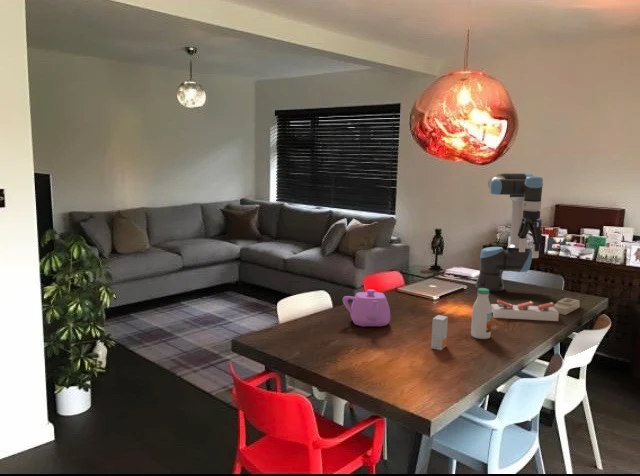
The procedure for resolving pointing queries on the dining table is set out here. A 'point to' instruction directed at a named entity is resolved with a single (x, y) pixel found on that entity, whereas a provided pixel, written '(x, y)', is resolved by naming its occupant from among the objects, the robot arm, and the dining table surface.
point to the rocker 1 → (505, 303)
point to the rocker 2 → (525, 304)
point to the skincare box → (439, 332)
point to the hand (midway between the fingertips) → (528, 254)
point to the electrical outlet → (566, 305)
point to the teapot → (368, 308)
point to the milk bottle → (481, 315)
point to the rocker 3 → (545, 305)
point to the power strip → (524, 312)
